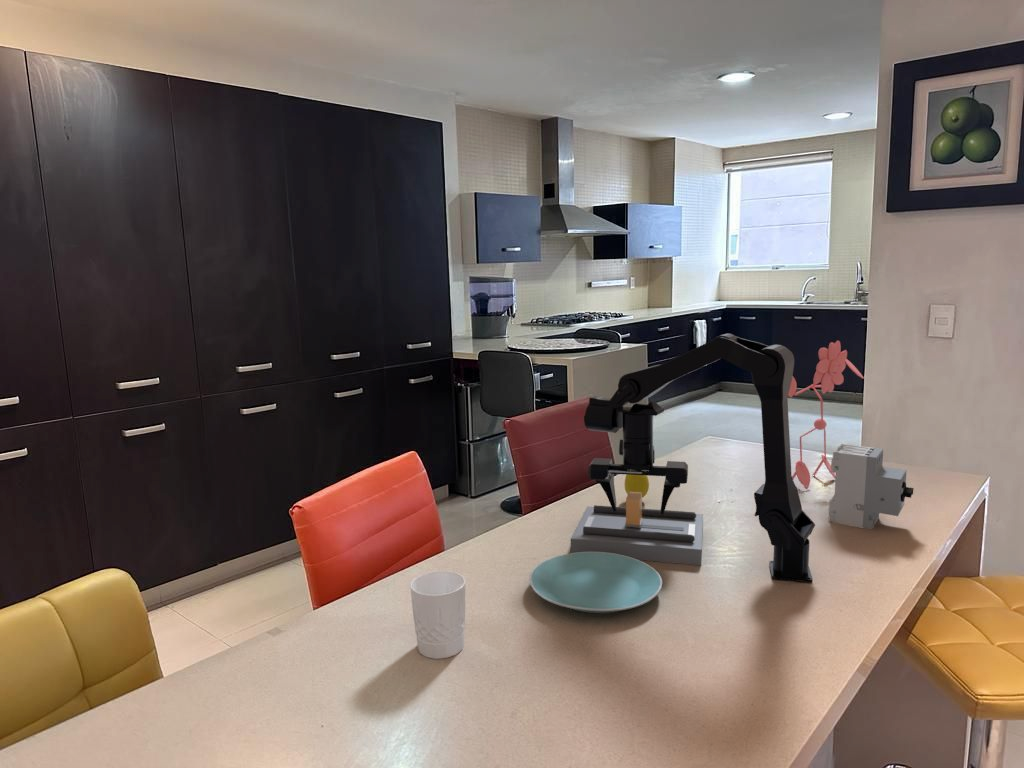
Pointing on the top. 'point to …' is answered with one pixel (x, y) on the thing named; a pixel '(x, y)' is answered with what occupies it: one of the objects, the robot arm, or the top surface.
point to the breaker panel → (638, 546)
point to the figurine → (828, 376)
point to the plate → (595, 581)
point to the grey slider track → (642, 533)
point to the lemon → (637, 484)
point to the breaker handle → (634, 509)
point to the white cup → (439, 613)
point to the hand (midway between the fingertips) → (638, 512)
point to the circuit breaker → (865, 487)
